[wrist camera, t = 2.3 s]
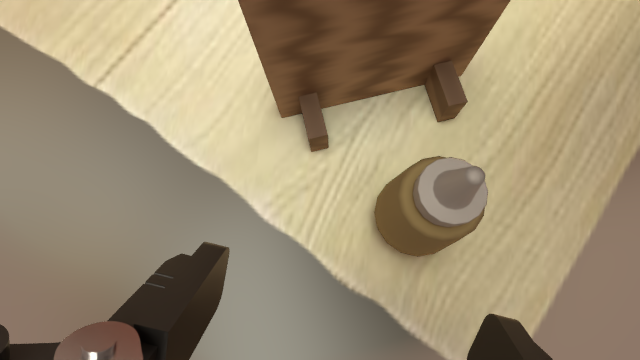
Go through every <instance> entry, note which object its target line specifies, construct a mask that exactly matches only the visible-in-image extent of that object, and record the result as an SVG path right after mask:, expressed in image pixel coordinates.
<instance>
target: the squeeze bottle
mask: <svg viewBox="0 0 640 360" xmlns="http://www.w3.org/2000/svg"><path fill="white" fill-rule="evenodd" d="M487 195H488V189H487V186H486V183H485V173H484V171H483V170H482V169H481V168H479V167H477V166H473V165H471V164H469V163H468V162H466V161H465V160H461V159H456V158H452V157H449V158H445V157H440V156H437V157H431V158H425V159H422V160H420V161H419V162H417V163H415V164H414V165H412V166H410V167H409V168H408V169H406V170H405V171H404V172H402V173H401V174H400V175H398V176H397V177H396V178H394V179H393V180H392V181H390V182H389V183H388V184H386V186H385V187H384V189H383V190H382V192H381V193H380V194H379V196H378V198H377V203H376V207H375V212H374V213H375V218H376V223H377V228H378V230H379V231H380V233H381V234H382V236H383V237H384V239H385V240H386V242H387V243H388V244H390V245H391V246H393V247H394V248H395V249H397V250H398V251H400V252H402V253H406V254H410V255H414V256H422V255H428V254H434V253H436V252H438V251H440V250H441V249H443V248H445V247H447V246H449V245H451V244H452V243H454V242H456V241H458V240H460V239H461V238H463V237H465V236H466V235H468V234H469V233H471V232H472V231H474V230H475V229H476V227H477V225H478V224H479V222H480V221H481V219H482V217H483V216H484V209H485V206H486V204H487Z"/></svg>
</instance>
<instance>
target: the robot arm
mask: <svg viewBox="0 0 640 360" xmlns="http://www.w3.org/2000/svg"><path fill="white" fill-rule="evenodd" d="M228 258H229V248H228V247H224V246H220V245H216V244H212V243H208V242H203V244H202V245H201V246H200V247H199V248H198V249H197V250H196V252H195V253H194V254H193V255H192V256H189V255H185V254H180V255H177V256H175V257H173V258H171V259H169V260H167V261H165V262H164V263H163V264H162V265H161V267H159V269H157V271H156V272H155V273H154V275H152V276H151V277H150V278H149V279H148V280H147V281H146V283H145V284H143V285H142V286H141V287H140V288H139V289H138V290H137V291H136V292H135V293H134V294H133V295H132V296H131V297H130V298H129V299H128V300H127V301H126V302H125V303H124V304H123V305H122V306H121V307H120V308H119V309H118V310H117V312H116V313H115V314H114V315H113V316H112V317H111V318H110V319H109V320H108V321H104V322H97V323H93V324H90V325H87V326H84V327H82V328H80V329H78V330H76V331H74V332H73V333H71V334H70V335H69V336H67V337H66V338H65V339H64V340H63V341H62V342H59V343H38V344H9V333H8V331H7V329H6V328H5V327H4V326H2V325H0V360H189V359H190V357H191V355H192V353H193V351H194V350H195V348H196V346H197V344H198V343H199V341H200V339H201V337H202V335H203V333H204V331H205V330H206V328H207V326H208V324H209V323H210V321H211V319H212V317H213V315H214V313H215V312H216V310H217V307H218V305H219V302H220V299H221V295H222V291H223V286H224V280H225V275H226V269H227V264H228ZM467 360H552V358H551V357H550V356H549V355H548V354H547V353H546V352H544V351H543V350H542V349H541V348H540V347H539V346H538V345H537V344H536V343H535V342H534V341H533V340H532V339H531V337H530V336H529V334H528V333H527V332H526V330H525V329H524V327H523V326H522V325H521V323H520V322H519V321H517V320H515V319H511V318H507V317H503V316H499V315H495V314H489V315H487V316H486V317H485V319H484V321H483V323H482V325H481V327H480V329H479V331H478V333H477V336H476V338H475V340H474V342H473V344H472V346H471V348H470V350H469V353H468V356H467Z"/></svg>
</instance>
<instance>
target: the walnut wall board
mask: <svg viewBox="0 0 640 360" xmlns="http://www.w3.org/2000/svg"><path fill="white" fill-rule="evenodd" d="M238 1H239V4H240V7H241V9H242V12H243V15H244V17H245V20H246V23H247V25H248V28H249V31H250V34H251V36H252V39H253V42H254V44H255V47H256V50H257V52H258V55H259V58H260V61H261V63H262V66H263V69H264V71H265V74H266V77H267V79H268V82H269V85H270V87H271V90H272V93H273V96H274V98H275V101H276V104H277V106H278V109H279V112H280V114H281V117H282V118H283V117H288V116H292V115H296V114H300V113H302V114H303V118H304V122H305V127H306V131H307V135H308V139H309V143H310V148H311V152H313V151H317V150H321V149H325V148H328V135H327V131H326V127H325V123H324V119H323V115H322V111H321V109H322V108H326V107H330V106H334V105H339V104H343V103H347V102H351V101H356V100H360V99H364V98H368V97H373V96H377V95H381V94H385V93H390V92H394V91H398V90H402V89H407V88H411V87H415V86H419V85H424V84H425V87H426V90H427V93H428V96H429V98H430V101H431V104H432V107H433V110H434V113H435V116H436V118H437V121H438V122H439V121H444V120H448V119H452V118H455V117H456V115H457V114H458V113H459V112H460V110H461V109H462V108H463V107H464V105H465V104H466V103H467V99H466V96H465V94H464V91H463V89H462V86H461V83H460V81H459V78H458V76H461V75H462V74H463V72H464V70H465V69H466V67H467V66H468V64H469V63H470V61H471V60H472V58H473V57H474V55H475V54H476V52H477V51H478V49H479V48H480V46H481V45H482V43H483V42H484V40H485V38H486V37H487V35H488V34H489V32H490V31H491V29H492V28H493V26H494V25H495V23H496V22H497V20H498V19H499V17H500V16H501V14H502V13H503V11H504V9H505V8H506V6H507V5H508V3H509V2H510V0H238Z"/></svg>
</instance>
